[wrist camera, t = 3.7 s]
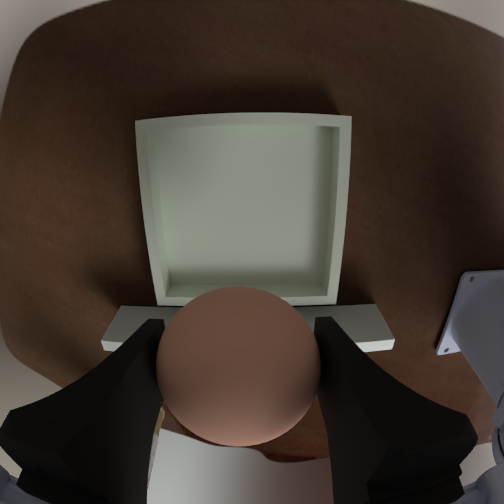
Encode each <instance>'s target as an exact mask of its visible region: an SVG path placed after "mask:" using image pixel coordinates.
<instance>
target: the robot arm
mask: <svg viewBox="0 0 504 504" xmlns="http://www.w3.org/2000/svg"><path fill="white" fill-rule="evenodd" d="M471 277H472V278H471ZM470 278H471V279H470ZM164 330H165V324H164V319H148V320H147V321H145V322H144V323H143V324H142V325H141V326H140V327H139V328H138V329H137V330H136V331H135V332H134V333H133V334H132V335H131V336H130V337H129V338H128V339H127V340H126V341H125V342H124V343H123V344H122V345H121V346H120V347H118V348H117V349H116V350H115V351H114V352H113V353H112V354H111V355H109V356H108V357H107V358H106V359H105V360H104V361H102V362H101V363H100V364H99V365H98V366H96V367H95V368H94V369H92V370H91V371H90V372H88V373H87V374H85V375H84V376H83V377H81V378H80V379H78V380H77V381H75V382H73V383H71V384H70V385H68V386H66V387H65V388H63V389H61V390H60V391H58V392H56V393H54V394H52V395H50V396H48V397H45V398H43V399H41V400H38V401H36V402H34V403H31V404H28V405H25V406H22V407H19V408H16V409H14V410H10V412H9V414H8V415H7V417H6V419H5V420H4V422H3V424H2V426H1V428H0V446H1V447H2V449H3V450H4V451H5V452H6V453H7V454H8V455H9V456H10V457H11V458H12V459H13V460H14V461H15V462H16V463H17V464H18V465H19V466H20V467H21V468H22V471H21V474H20V476H19V478H16V477H14V476H12V475H10V474H9V473H8V472H7V471H6V470H5V469H4V468H3V467H2V466H1V465H0V504H147V485H148V472H149V463H150V455H151V448H152V441H153V435H154V431H155V426H156V423H157V419H158V416H159V413H160V409H161V406H162V402H163V397H162V394H161V391H160V389H159V385H158V381H157V374H156V357H157V351H158V346H159V342H160V340H161V337H162V335H163V333H164ZM313 334H314V336H315V339H316V341H317V344H318V347H319V352H320V360H321V374H320V382H319V386H318V389H317V395H318V399H319V403H320V407H321V410H322V414H323V418H324V422H325V426H326V431H327V436H328V444H329V452H330V461H331V471H332V482H333V497H334V504H504V270H488V271H471V272H465V273H463V275H462V276H461V278H460V282H459V285H458V289H457V292H456V295H455V298H454V301H453V304H452V307H451V310H450V313H449V316H448V319H447V322H446V325H445V327H444V330H443V333H442V335H441V338H440V341H439V343H438V346H437V348H436V353H437V354H438V355H443V354H448V353H453V352H458V351H461V352H462V353H463V355H464V356H465V358H466V359H467V361H468V362H469V364H470V365H471V367H472V368H473V370H474V371H475V373H476V374H477V376H478V377H479V379H480V381H481V382H482V384H483V385H484V387H485V388H486V390H487V392H488V393H489V395H490V397H491V398H492V400H493V401H494V403H495V405H496V406H497V408H498V409H497V411H496V412H495V413H494V415H493V416H492V417H493V419H494V421H495V423H496V424H497V427H496V428H495V430H494V431H493V435H492V450H493V456H494V459H495V462H496V464H497V465H496V466H494V467H492V468H490V469H489V470H487V471H486V472H484V473H483V474H482V475H481V476H480V477H479V478H478V479H477V480H476V481H475V482H473V483H471V484H469V485H466V486H464V487H462V484H461V482H460V479H459V476H460V475H461V474H462V471H461V468H460V465H459V464H460V463H461V462H462V461H463V460H464V459H465V458H466V457H467V456H468V454H469V453H470V452H471V451H472V450H473V448H474V447H475V445H476V443H477V440H478V436H477V434H476V432H475V429H474V427H473V425H472V423H471V422H470V420H469V418H468V417H467V415H466V414H463V413H460V412H457V411H455V410H452V409H449V408H447V407H444V406H442V405H440V404H438V403H435V402H433V401H431V400H429V399H427V398H425V397H424V396H422V395H420V394H418V393H416V392H415V391H413V390H411V389H410V388H408V387H407V386H405V385H403V384H402V383H400V382H399V381H398V380H396V379H395V378H393V377H392V376H391V375H389V374H388V373H387V372H386V371H384V370H383V369H382V368H381V367H379V366H378V365H377V364H376V363H375V362H374V361H373V360H372V359H370V358H369V357H368V356H367V355H366V354H365V353H364V352H363V351H362V350H361V349H360V348H359V347H358V346H357V344H356V343H355V342H354V341H353V340H352V339H351V338H350V337H349V336H348V335H347V334H346V332H345V331H344V330H343V329H342V328H341V327H340V326H339V324H338V323H337V322H336V321H335V320H334V319H333V318H332V317H331V316H327V317H315V324H314V333H313Z"/></svg>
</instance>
